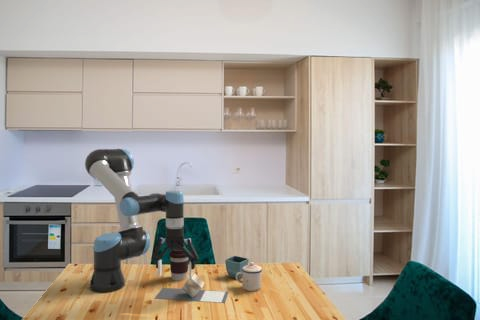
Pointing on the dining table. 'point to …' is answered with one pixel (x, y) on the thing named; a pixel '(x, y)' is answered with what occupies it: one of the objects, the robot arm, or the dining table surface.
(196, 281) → the birch cube
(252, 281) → the teacup with lid
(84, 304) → the dining table surface
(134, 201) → the robot arm
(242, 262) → the flower pot
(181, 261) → the coffee cup
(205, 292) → the charcoal mat
